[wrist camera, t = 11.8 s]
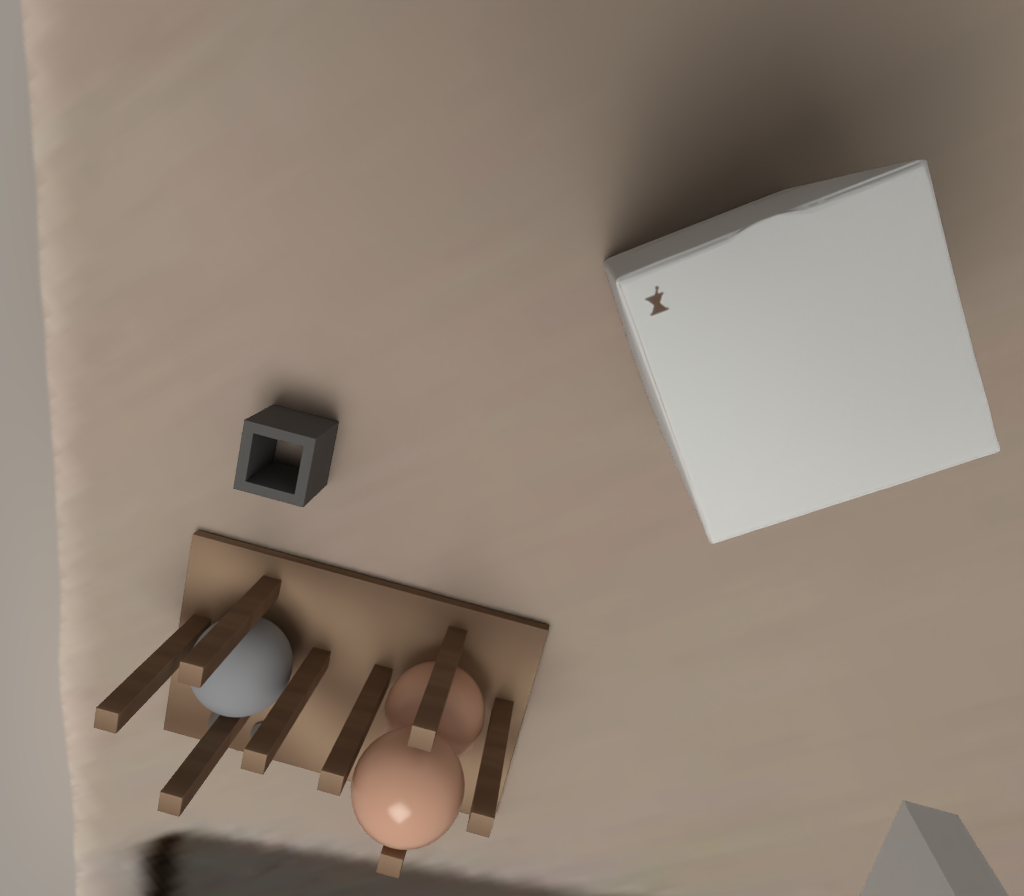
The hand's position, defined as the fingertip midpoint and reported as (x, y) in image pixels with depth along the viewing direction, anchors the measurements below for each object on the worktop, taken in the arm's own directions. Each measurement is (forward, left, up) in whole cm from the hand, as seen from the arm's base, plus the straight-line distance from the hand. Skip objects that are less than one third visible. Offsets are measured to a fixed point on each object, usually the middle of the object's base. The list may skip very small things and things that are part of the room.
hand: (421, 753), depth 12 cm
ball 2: (+17, -1, -28) cm, 33 cm away
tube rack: (+18, -6, -29) cm, 34 cm away
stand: (+6, -11, -29) cm, 31 cm away
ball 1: (+17, -11, -28) cm, 35 cm away
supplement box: (-5, +7, -29) cm, 30 cm away
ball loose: (+17, -1, -21) cm, 27 cm away
